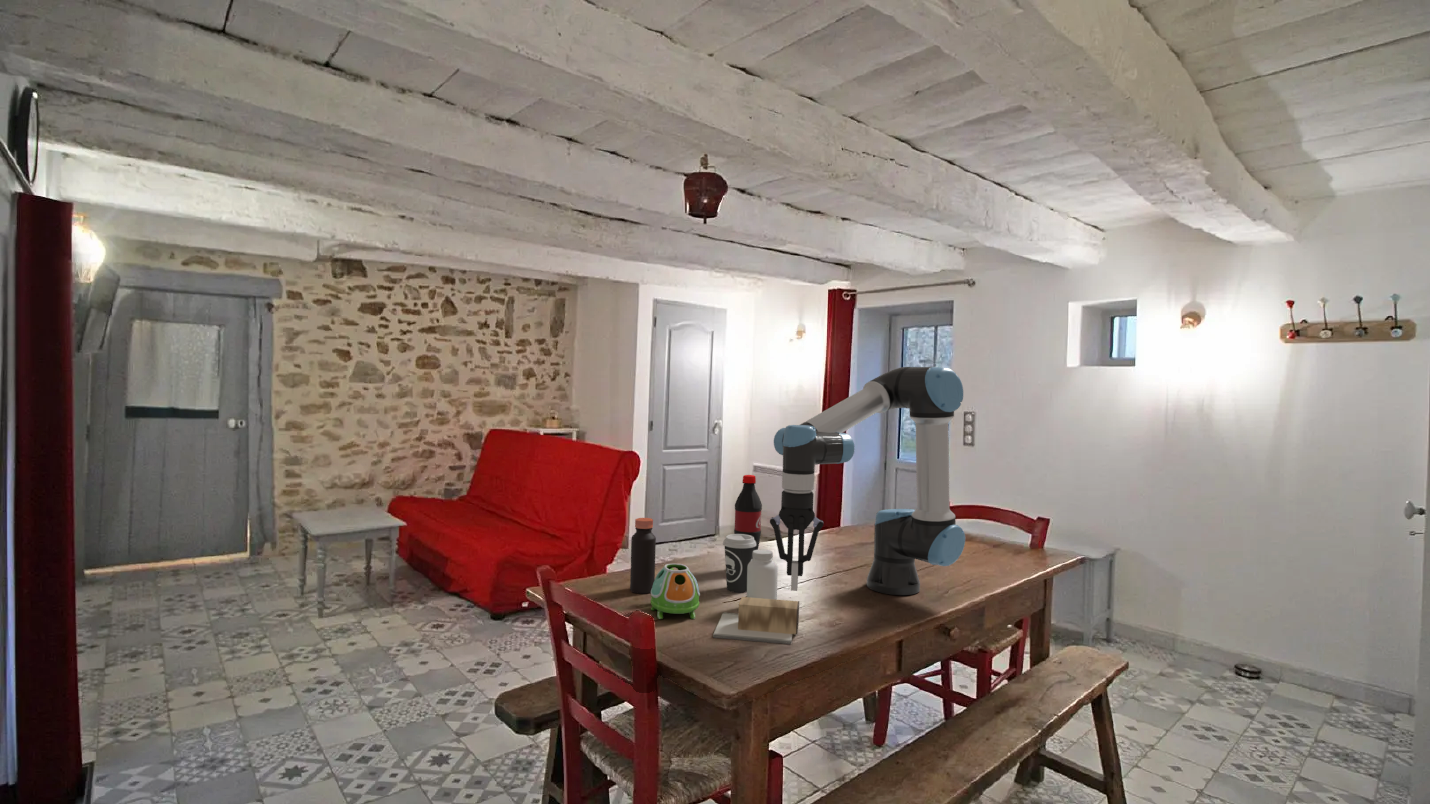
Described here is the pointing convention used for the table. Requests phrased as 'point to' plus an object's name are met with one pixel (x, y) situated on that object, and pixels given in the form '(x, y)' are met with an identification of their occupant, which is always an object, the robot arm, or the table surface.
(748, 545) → the coffee cup
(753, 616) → the oak block
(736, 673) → the table surface
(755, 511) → the cola bottle
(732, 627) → the shallow grey tray
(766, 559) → the pill bottle
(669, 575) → the turtle holder
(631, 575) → the vinegar
